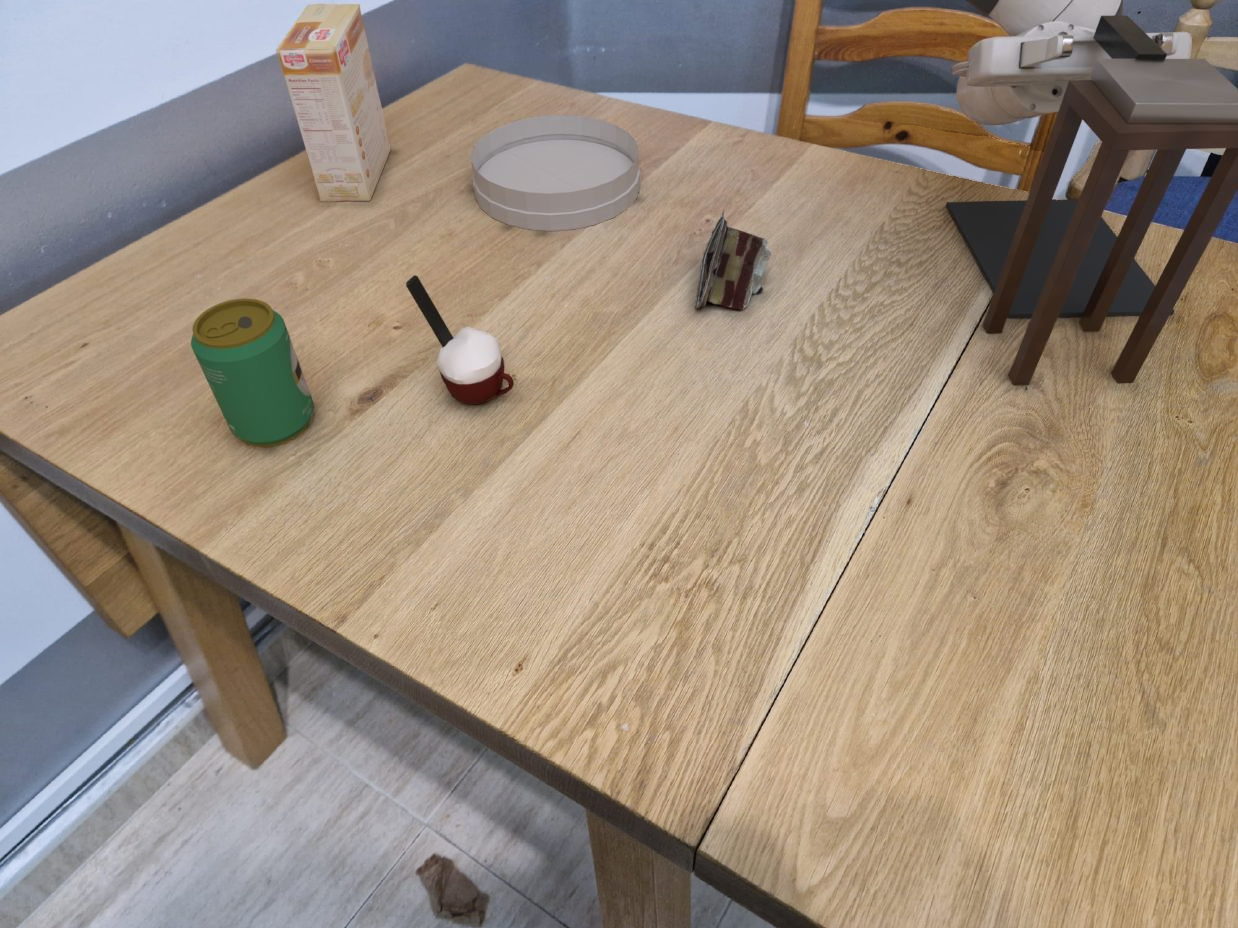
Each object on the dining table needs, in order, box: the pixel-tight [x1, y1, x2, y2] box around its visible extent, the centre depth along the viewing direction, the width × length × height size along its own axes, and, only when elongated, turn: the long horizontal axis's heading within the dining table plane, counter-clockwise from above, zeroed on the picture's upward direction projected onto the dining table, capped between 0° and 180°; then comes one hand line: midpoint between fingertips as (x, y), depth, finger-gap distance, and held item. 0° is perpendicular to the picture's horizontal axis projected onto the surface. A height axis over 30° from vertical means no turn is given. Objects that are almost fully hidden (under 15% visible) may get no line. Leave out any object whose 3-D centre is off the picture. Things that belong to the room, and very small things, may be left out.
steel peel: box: [1090, 15, 1238, 124], centre depth 74 cm, size 9×18×2 cm, turn 178°
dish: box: [470, 114, 641, 232], centre depth 113 cm, size 22×22×5 cm
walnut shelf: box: [982, 80, 1238, 386], centre depth 80 cm, size 12×10×26 cm
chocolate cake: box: [694, 210, 772, 311], centre depth 98 cm, size 10×7×12 cm
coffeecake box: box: [275, 3, 392, 202], centre depth 112 cm, size 15×7×20 cm, turn 0°
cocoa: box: [405, 274, 515, 405], centre depth 82 cm, size 10×6×12 cm, turn 40°
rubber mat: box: [945, 198, 1175, 319], centre depth 102 cm, size 18×24×1 cm
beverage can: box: [190, 298, 315, 448], centre depth 80 cm, size 8×8×12 cm
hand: (1117, 44), depth 77 cm, fingers open, 8 cm apart
